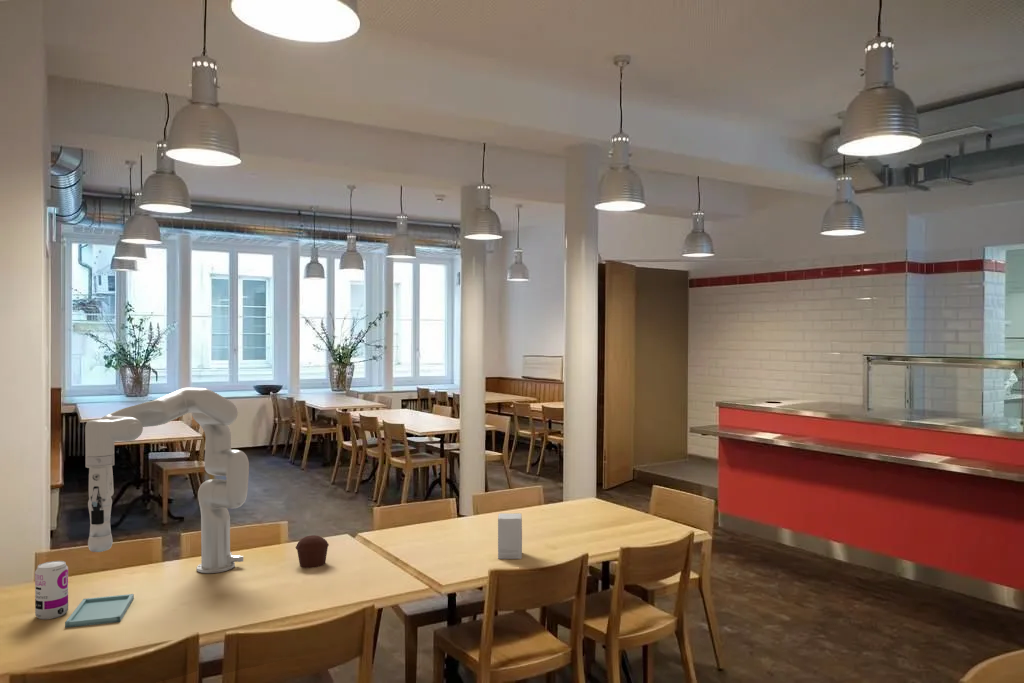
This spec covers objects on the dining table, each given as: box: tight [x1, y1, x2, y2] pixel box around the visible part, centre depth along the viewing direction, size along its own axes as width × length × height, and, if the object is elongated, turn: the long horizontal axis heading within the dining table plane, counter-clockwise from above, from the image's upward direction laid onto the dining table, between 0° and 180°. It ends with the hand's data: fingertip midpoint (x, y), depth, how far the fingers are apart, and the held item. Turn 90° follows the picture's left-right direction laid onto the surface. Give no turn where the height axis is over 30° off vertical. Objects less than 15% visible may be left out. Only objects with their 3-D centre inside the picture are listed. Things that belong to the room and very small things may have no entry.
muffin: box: [295, 535, 330, 569], centre depth 264 cm, size 12×11×10 cm
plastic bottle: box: [87, 495, 113, 553], centre depth 218 cm, size 6×7×20 cm
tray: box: [64, 593, 135, 629], centre depth 218 cm, size 14×20×2 cm
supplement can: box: [34, 560, 69, 620], centre depth 216 cm, size 8×8×15 cm
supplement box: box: [497, 512, 523, 560], centre depth 273 cm, size 9×9×15 cm
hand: (100, 520), depth 218 cm, fingers closed on plastic bottle, 6 cm apart
